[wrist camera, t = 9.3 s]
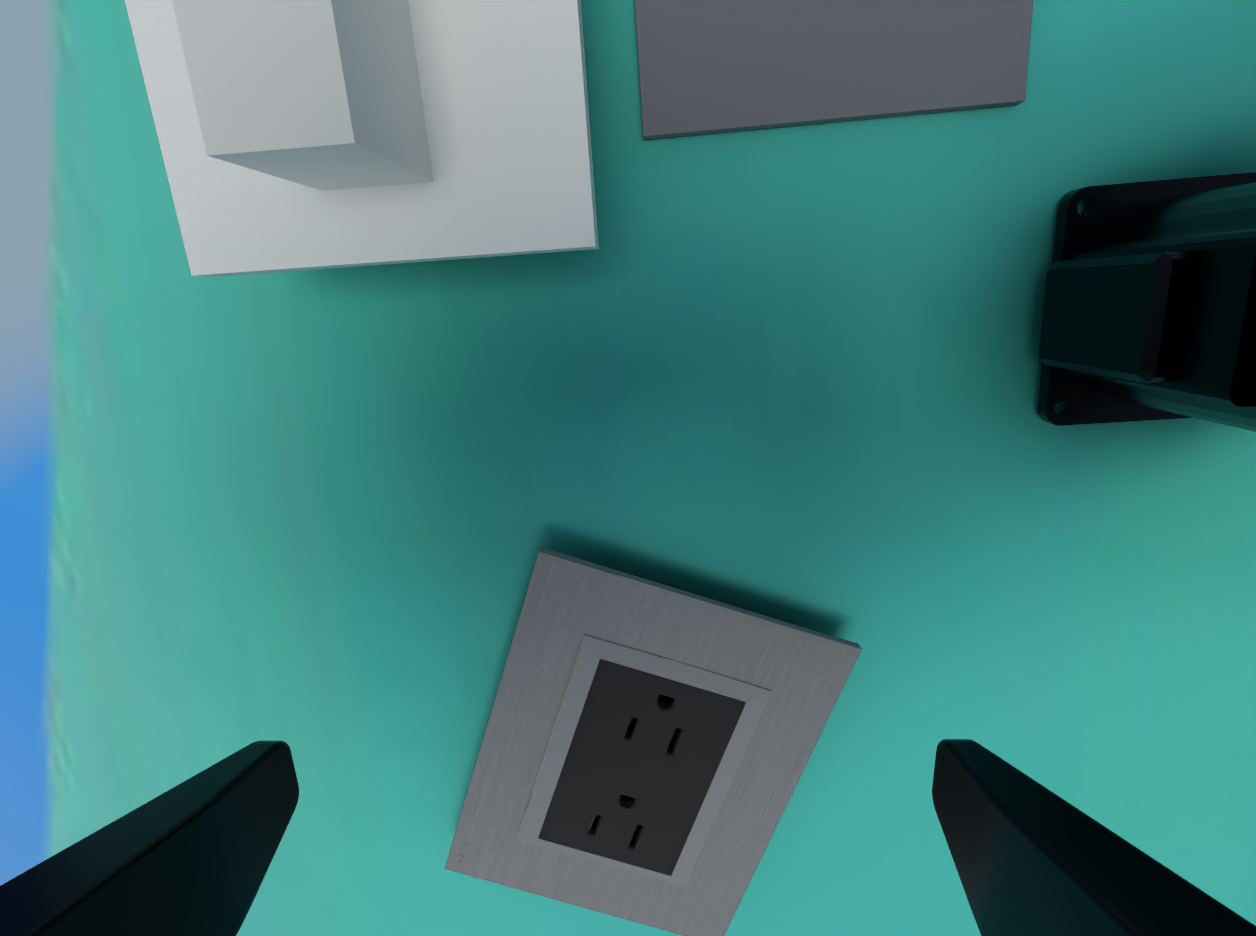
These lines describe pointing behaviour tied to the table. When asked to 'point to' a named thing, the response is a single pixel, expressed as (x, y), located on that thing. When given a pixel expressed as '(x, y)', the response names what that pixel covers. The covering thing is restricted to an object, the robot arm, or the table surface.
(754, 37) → the mat
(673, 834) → the electrical outlet
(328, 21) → the lid
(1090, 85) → the table surface
